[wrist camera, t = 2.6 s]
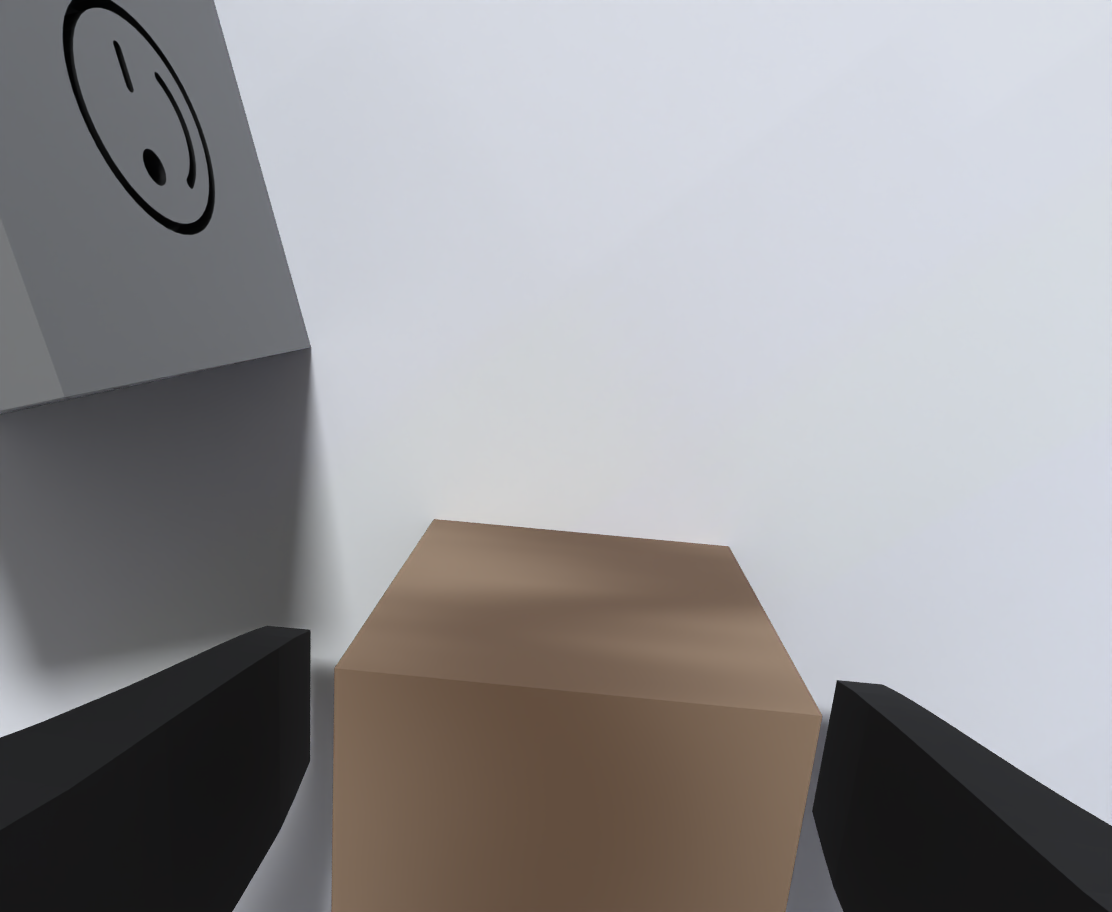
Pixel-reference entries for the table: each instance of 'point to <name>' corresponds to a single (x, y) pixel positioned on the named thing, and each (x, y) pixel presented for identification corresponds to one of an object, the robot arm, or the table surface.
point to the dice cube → (129, 203)
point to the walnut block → (567, 732)
